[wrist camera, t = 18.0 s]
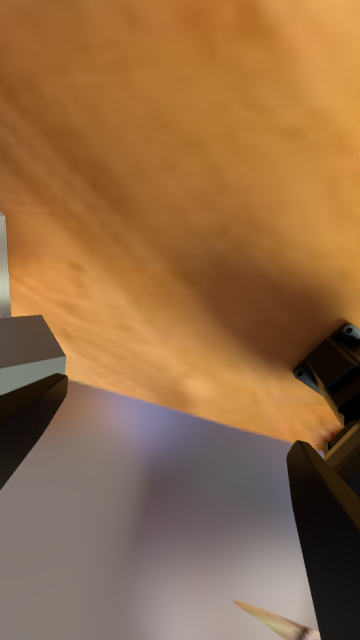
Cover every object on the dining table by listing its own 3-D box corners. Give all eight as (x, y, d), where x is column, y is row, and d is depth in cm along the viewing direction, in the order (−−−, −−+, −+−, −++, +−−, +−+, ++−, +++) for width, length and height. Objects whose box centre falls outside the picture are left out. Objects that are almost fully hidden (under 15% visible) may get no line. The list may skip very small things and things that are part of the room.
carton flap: (10, 199, 20) (71, 243, 10) (17, 336, 25) (61, 449, 15) (-39, 190, 18) (-20, 233, 8) (-20, 340, 23) (4, 473, 13)
